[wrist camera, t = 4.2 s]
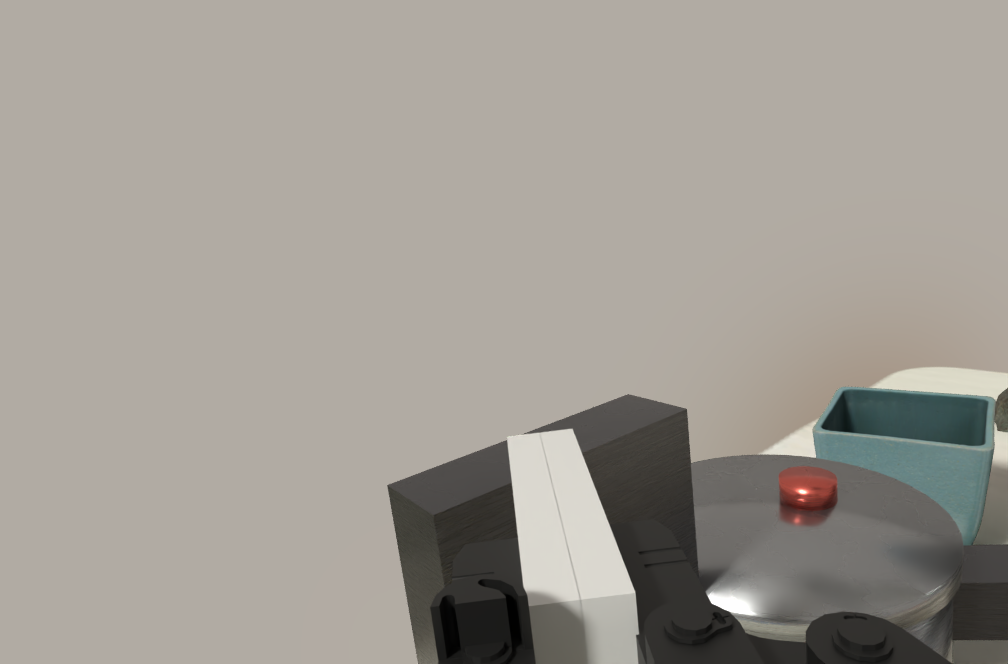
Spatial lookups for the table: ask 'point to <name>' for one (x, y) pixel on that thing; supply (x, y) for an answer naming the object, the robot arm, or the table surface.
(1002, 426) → the sword in stone
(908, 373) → the table surface
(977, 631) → the pot
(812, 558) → the lid
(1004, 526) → the table surface
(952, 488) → the flower pot
